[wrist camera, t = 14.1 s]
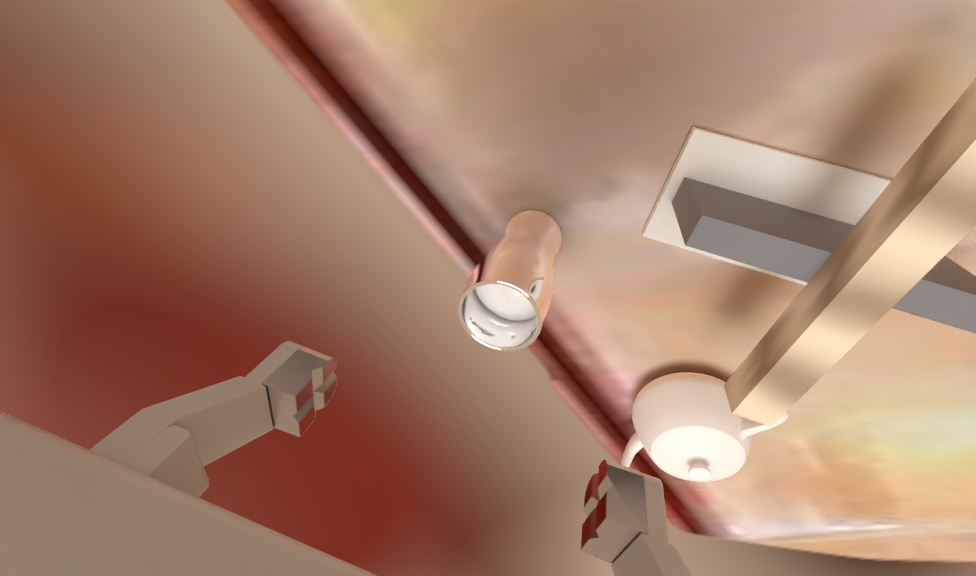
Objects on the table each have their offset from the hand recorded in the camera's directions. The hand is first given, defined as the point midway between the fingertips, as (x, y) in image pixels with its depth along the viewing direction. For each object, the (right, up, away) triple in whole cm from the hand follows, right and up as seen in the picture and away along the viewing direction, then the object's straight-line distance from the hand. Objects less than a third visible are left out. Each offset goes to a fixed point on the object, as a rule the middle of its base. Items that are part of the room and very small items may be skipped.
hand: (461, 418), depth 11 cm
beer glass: (+6, +9, +31) cm, 33 cm away
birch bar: (+24, +5, +15) cm, 29 cm away
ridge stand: (+27, +10, +23) cm, 37 cm away
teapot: (+24, -10, +37) cm, 45 cm away
